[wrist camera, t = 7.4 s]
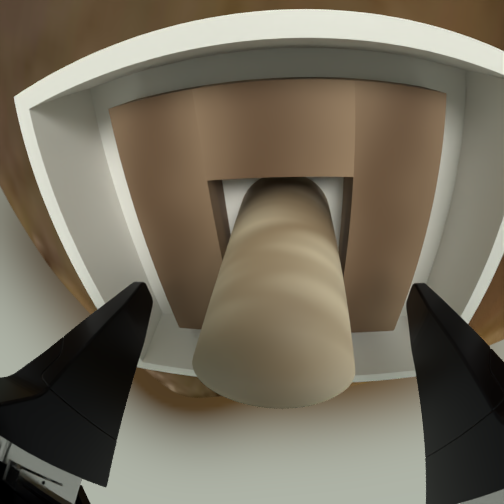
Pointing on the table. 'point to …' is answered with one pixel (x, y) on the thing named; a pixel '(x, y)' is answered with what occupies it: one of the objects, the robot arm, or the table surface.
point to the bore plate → (285, 165)
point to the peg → (278, 303)
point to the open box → (247, 68)
